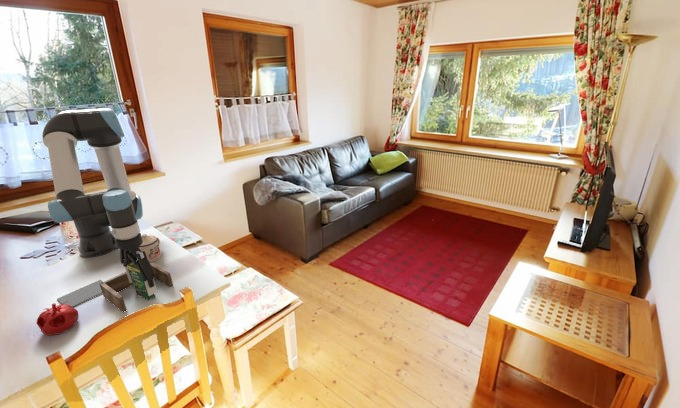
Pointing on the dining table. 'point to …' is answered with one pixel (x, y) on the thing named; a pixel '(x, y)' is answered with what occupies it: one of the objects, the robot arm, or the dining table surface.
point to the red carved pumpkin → (57, 319)
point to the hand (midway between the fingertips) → (143, 287)
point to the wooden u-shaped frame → (122, 282)
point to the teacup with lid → (151, 247)
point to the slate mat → (81, 294)
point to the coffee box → (138, 281)
